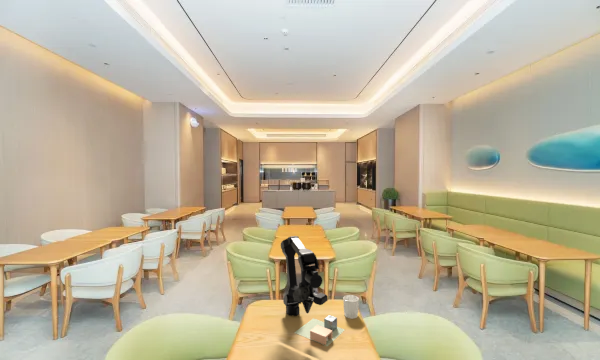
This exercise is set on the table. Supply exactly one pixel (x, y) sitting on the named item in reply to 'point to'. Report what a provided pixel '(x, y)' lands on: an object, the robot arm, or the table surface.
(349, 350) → the table surface
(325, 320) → the gray metal block
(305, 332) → the board
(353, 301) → the white cup
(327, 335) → the cover
